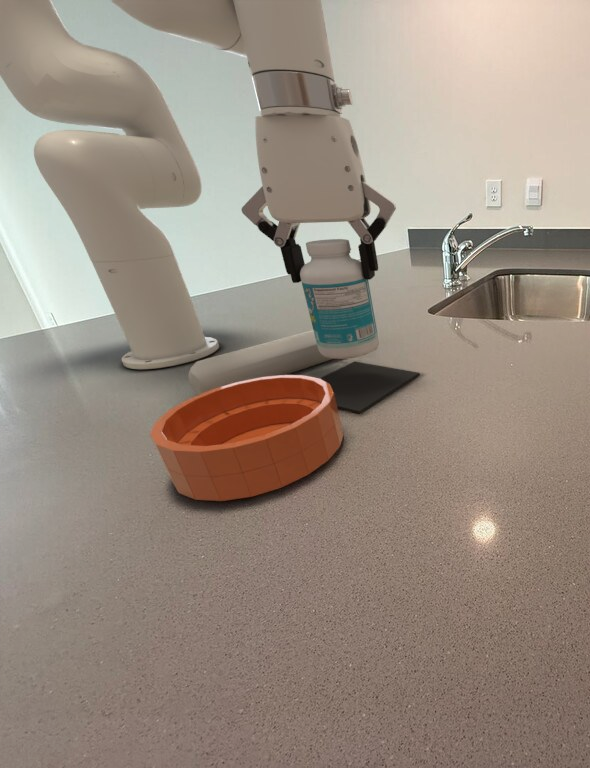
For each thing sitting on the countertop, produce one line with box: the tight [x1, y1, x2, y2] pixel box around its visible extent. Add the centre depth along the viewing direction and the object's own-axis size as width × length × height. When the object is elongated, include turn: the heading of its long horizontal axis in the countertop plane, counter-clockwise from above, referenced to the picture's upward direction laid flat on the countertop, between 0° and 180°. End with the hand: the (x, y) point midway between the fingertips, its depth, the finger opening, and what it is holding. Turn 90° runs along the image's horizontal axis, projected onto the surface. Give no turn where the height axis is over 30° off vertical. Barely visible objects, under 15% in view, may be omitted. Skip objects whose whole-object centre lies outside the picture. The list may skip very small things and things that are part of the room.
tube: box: [187, 329, 333, 395], centre depth 59 cm, size 5×5×25 cm
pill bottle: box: [300, 238, 380, 360], centre depth 50 cm, size 8×7×14 cm
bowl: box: [149, 374, 344, 502], centre depth 39 cm, size 15×15×6 cm
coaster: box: [319, 361, 421, 415], centre depth 55 cm, size 12×12×1 cm
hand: (335, 278), depth 49 cm, fingers closed on pill bottle, 7 cm apart
